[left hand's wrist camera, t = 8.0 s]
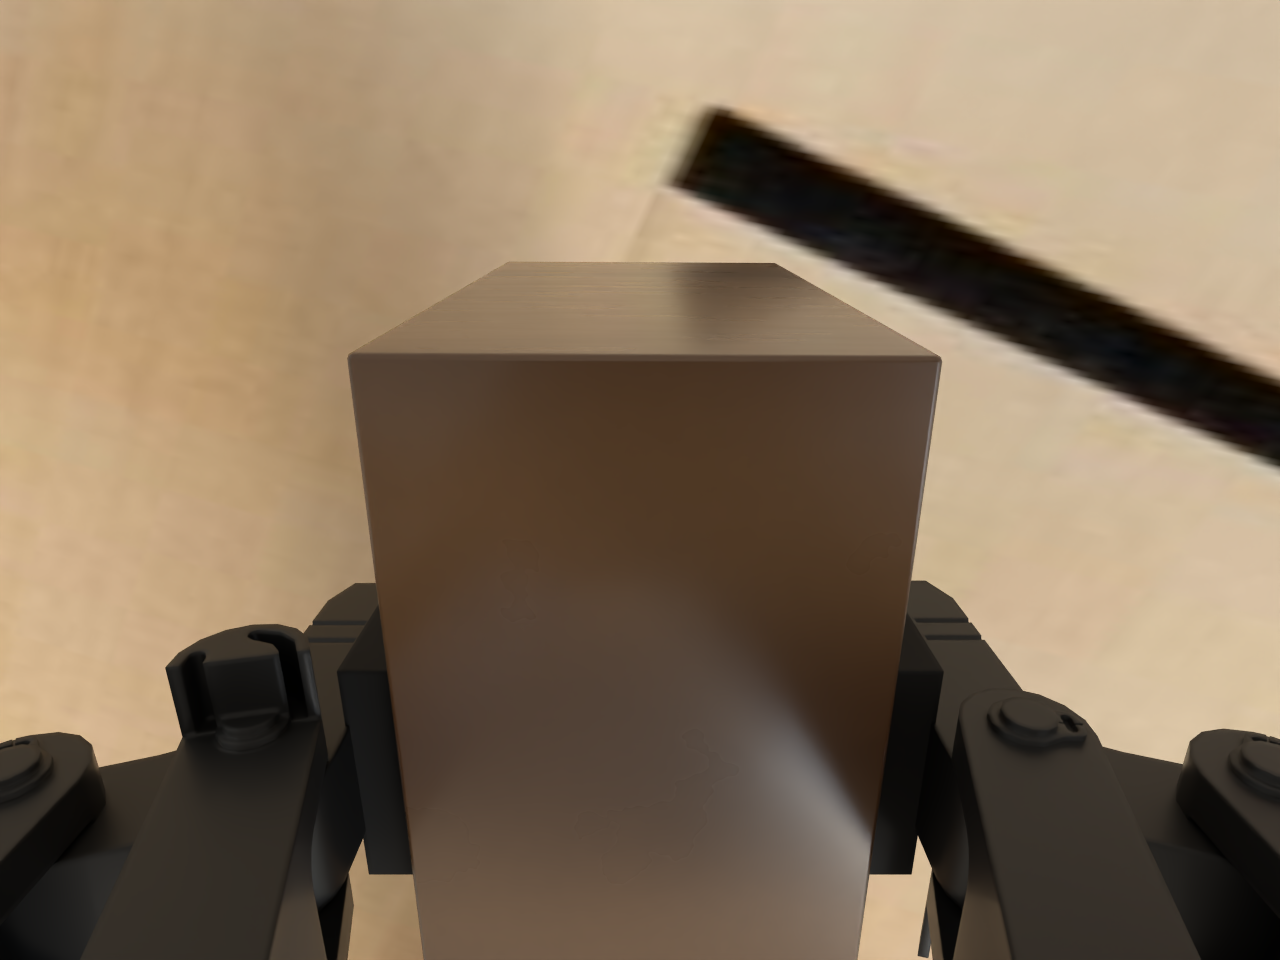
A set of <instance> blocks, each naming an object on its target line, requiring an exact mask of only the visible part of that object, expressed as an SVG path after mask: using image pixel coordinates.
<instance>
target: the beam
mask: <svg viewBox="0 0 1280 960" xmlns="http://www.w3.org/2000/svg"><path fill="white" fill-rule="evenodd" d="M941 365H942V360H941V357H940V356H938V355H936V354H934V353H933V352H931V351H929V350H927V349H925V348H924V347H922V346H920V345H918V344H917V343H915V342H913V341H911V340H910V339H908V338H906V337H904V336H903V335H901V334H899V333H897V332H896V331H894V330H892V329H890V328H888V327H887V326H885V325H883V324H881V323H880V322H878V321H876V320H874V319H873V318H871V317H869V316H867V315H866V314H864V313H862V312H860V311H858V310H857V309H855V308H853V307H851V306H850V305H848V304H846V303H844V302H843V301H841V300H839V299H837V298H836V297H834V296H832V295H830V294H829V293H827V292H825V291H823V290H821V289H820V288H818V287H816V286H814V285H813V284H811V283H809V282H807V281H806V280H804V279H802V278H800V277H799V276H797V275H795V274H793V273H792V272H790V271H788V270H786V269H784V268H783V267H781V266H779V265H777V264H775V263H641V262H508V263H506V264H504V265H502V266H501V267H499V268H497V269H495V270H494V271H492V272H490V273H489V274H487V275H485V276H483V277H482V278H480V279H478V280H476V281H475V282H473V283H471V284H470V285H468V286H466V287H464V288H463V289H461V290H459V291H457V292H456V293H454V294H452V295H450V296H449V297H447V298H445V299H444V300H442V301H440V302H438V303H437V304H435V305H433V306H431V307H430V308H428V309H426V310H425V311H423V312H421V313H419V314H418V315H416V316H414V317H412V318H411V319H409V320H407V321H405V322H404V323H402V324H400V325H399V326H397V327H395V328H393V329H392V330H390V331H388V332H386V333H385V334H383V335H381V336H380V337H378V338H376V339H374V340H373V341H371V342H369V343H367V344H366V345H364V346H362V347H360V348H359V349H357V350H355V351H354V352H352V353H350V354H349V355H348V367H349V375H350V383H351V391H352V399H353V407H354V414H355V422H356V430H357V438H358V446H359V454H360V462H361V469H362V477H363V485H364V493H365V501H366V509H367V517H368V525H369V532H370V540H371V548H372V556H373V564H374V572H375V580H376V587H377V595H378V603H379V611H380V619H381V627H382V635H383V643H384V650H385V658H386V666H387V674H388V682H389V690H390V698H391V705H392V713H393V721H394V729H395V737H396V745H397V753H398V761H399V768H400V776H401V784H402V792H403V800H404V808H405V816H406V824H407V831H408V839H409V847H410V855H411V863H412V871H413V879H414V886H415V894H416V902H417V910H418V918H419V926H420V934H421V942H422V949H423V957H424V960H857V958H858V951H859V944H860V937H861V930H862V923H863V916H864V909H865V902H866V894H867V887H868V880H869V873H870V866H871V859H872V852H873V845H874V838H875V831H876V824H877V817H878V810H879V803H880V796H881V789H882V782H883V775H884V767H885V760H886V753H887V746H888V739H889V732H890V725H891V718H892V711H893V704H894V697H895V690H896V683H897V676H898V669H899V662H900V655H901V648H902V640H903V633H904V626H905V619H906V612H907V605H908V598H909V591H910V584H911V577H912V570H913V563H914V556H915V549H916V542H917V535H918V528H919V521H920V513H921V506H922V499H923V492H924V485H925V478H926V471H927V464H928V457H929V450H930V443H931V436H932V429H933V422H934V415H935V408H936V401H937V394H938V386H939V379H940V372H941Z"/></svg>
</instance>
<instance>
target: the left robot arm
mask: <svg viewBox="0 0 1280 960" xmlns="http://www.w3.org/2000/svg"><path fill="white" fill-rule="evenodd" d="M165 668H166V672H167V676H168V680H169V684H170V688H171V692H172V696H173V700H174V704H175V708H176V712H177V716H178V720H179V724H180V728H181V732H182V736H183V738H182V740H181V742H180V744H179V746H178V748H177V751H173V752H169V753H166V754H162V755H158V756H153V757H148V758H143V759H138V760H133V761H129V762H124V763H119V764H114V765H109V766H104V767H98V764H97V760H96V757H95V754H94V751H93V747H92V745H91V744H90V743H89V742H88V741H86V740H85V739H84V738H83V737H81V736H80V735H74V734H68V733H61V732H56V733H47V734H38V735H29V736H25V737H20V738H16V740H13V741H12V740H9V741H6V742H3V743H0V960H347V958H348V950H349V941H350V933H351V924H352V915H353V907H354V904H353V897H352V890H351V884H350V878H349V870H350V868H351V865H352V863H353V861H354V858H355V856H356V854H357V851H358V849H359V846H360V844H361V842H362V839H364V846H365V852H366V858H367V864H368V871H369V874H413V871H412V863H411V855H410V847H409V839H408V831H407V824H406V816H405V808H404V800H403V792H402V784H401V776H400V768H399V761H398V753H397V745H396V737H395V729H394V721H393V713H392V705H391V698H390V690H389V682H388V674H387V666H386V658H385V650H384V643H383V635H382V627H381V619H380V611H379V603H378V595H377V587H376V583H355V584H353V585H352V586H350V587H349V588H347V589H346V590H344V591H343V592H341V593H339V594H338V595H336V596H335V597H333V598H332V599H330V600H329V601H328V602H327V603H326V604H325V606H324V607H323V608H322V610H321V611H320V612H319V614H318V615H317V616H316V618H315V619H314V620H313V625H310V626H309V627H308V628H307V630H306V631H305V632H304V634H303V633H302V632H300V631H299V630H298V629H296V628H292V627H288V626H283V625H279V624H263V625H249V626H244V627H239V628H234V629H229V630H225V631H222V632H220V633H217V634H214V635H212V636H209V637H206V638H204V639H201V640H199V641H197V642H196V643H194V644H193V645H191V646H189V647H188V648H186V649H184V650H183V651H181V652H179V653H178V654H177V655H176V656H175V658H174V659H173V660H172V661H171V662H170V663H169V664H168V665H167V666H166V667H165ZM917 837H919V839H920V841H921V844H922V846H923V848H924V851H925V853H926V855H927V858H928V860H929V862H930V865H931V867H932V872H931V878H930V884H929V890H928V896H927V901H926V907H925V913H924V919H923V925H922V930H921V936H920V943H919V950H918V956H921V957H926V958H928V957H929V951H930V946H931V948H932V956H933V960H1280V739H1277V738H1274V737H1271V736H1270V737H1267V736H1266V735H1264V734H1260V733H1255V732H1248V731H1239V730H1230V729H1218V730H1211V731H1205V732H1201V733H1200V734H1199V735H1197V736H1196V737H1195V738H1194V739H1192V740H1191V741H1190V743H1189V746H1188V750H1187V753H1186V756H1185V760H1184V763H1183V764H1179V763H1174V762H1169V761H1164V760H1159V759H1154V758H1149V757H1144V756H1140V755H1135V754H1130V753H1125V752H1121V751H1117V750H1113V749H1109V748H1106V747H1102V745H1101V743H1100V740H1099V738H1098V736H1097V735H1096V734H1095V732H1094V731H1093V730H1092V728H1091V727H1090V726H1089V724H1088V723H1087V722H1086V721H1085V720H1084V719H1083V718H1082V717H1080V716H1079V715H1077V714H1076V713H1074V712H1073V711H1072V710H1070V709H1069V708H1067V707H1066V706H1065V705H1062V704H1060V703H1058V702H1055V701H1053V700H1051V699H1048V698H1046V697H1044V696H1042V695H1039V694H1034V693H1030V692H1026V691H1023V690H1022V689H1021V688H1020V686H1019V685H1018V684H1017V682H1016V681H1015V680H1014V678H1013V677H1012V676H1011V674H1010V673H1009V672H1008V670H1007V669H1006V668H1005V666H1004V665H1003V664H1002V662H1001V661H1000V660H999V659H998V657H997V656H996V655H995V653H994V652H993V651H992V649H991V648H990V647H989V645H988V644H987V643H986V641H985V640H981V635H980V633H979V632H978V631H977V629H976V628H975V627H974V625H973V624H972V623H969V622H968V618H967V616H966V615H965V614H964V612H963V611H962V610H961V608H960V607H959V606H958V604H957V603H956V602H955V600H954V599H953V598H952V597H950V596H949V595H947V594H945V593H944V592H942V591H941V590H939V589H938V588H936V587H935V586H933V585H931V584H930V583H928V582H927V581H911V584H910V591H909V598H908V605H907V612H906V619H905V626H904V633H903V640H902V648H901V655H900V662H899V669H898V676H897V683H896V690H895V697H894V704H893V711H892V718H891V725H890V732H889V739H888V746H887V753H886V760H885V767H884V775H883V782H882V789H881V796H880V803H879V810H878V817H877V824H876V831H875V838H874V845H873V852H872V859H871V866H870V873H869V874H912V868H913V862H914V855H915V849H916V843H917Z"/></svg>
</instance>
